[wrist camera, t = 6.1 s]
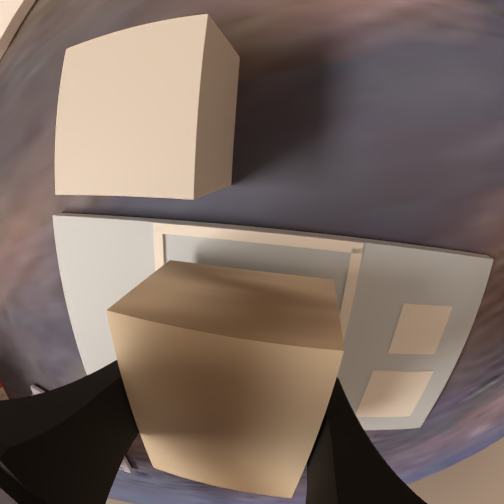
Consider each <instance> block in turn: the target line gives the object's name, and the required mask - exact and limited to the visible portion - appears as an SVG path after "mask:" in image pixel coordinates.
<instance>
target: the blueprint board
mask: <svg viewBox="0 0 504 504" xmlns="http://www.w3.org/2000/svg"><path fill="white" fill-rule="evenodd" d="M53 225H54V234H55V242H56V250H57V257H58V263H59V269H60V275H61V280H62V285H63V290H64V295H65V300H66V304H67V308H68V312H69V317H70V321H71V324H72V328H73V332H74V335H75V339H76V342H77V346H78V349H79V352H80V356H81V359H82V362H83V365H84V368H85V371H86V374H87V375H89V374H91V373H93V372H95V371H97V370H99V369H101V368H103V367H105V366H106V365H108V364H110V363H112V362H114V361H115V360H117V357H116V353H115V349H114V345H113V340H112V336H111V331H110V327H109V322H108V317H107V311H106V310H107V309H108V308H110V307H111V306H112V305H113V304H115V303H116V302H117V301H118V300H120V299H121V298H122V297H123V296H125V295H126V294H127V293H128V292H130V291H131V290H132V289H133V288H135V287H136V286H137V285H139V284H140V283H141V282H142V281H144V280H145V279H146V278H147V277H149V276H150V275H151V274H153V273H154V272H155V271H156V270H158V269H159V268H160V267H162V266H163V265H164V264H166V263H167V262H168V261H170V260H175V261H182V262H190V263H198V264H206V265H213V266H221V267H230V268H238V269H246V270H254V271H263V272H271V273H280V274H289V275H298V276H307V277H316V278H325V279H333V280H334V286H335V292H336V298H337V304H338V311H339V317H340V324H341V331H342V339H343V346H344V353H343V357H342V360H341V364H340V367H339V371H338V374H337V377H338V379H339V380H340V383H341V385H342V388H343V390H344V392H345V394H346V397H347V399H348V401H349V403H350V405H351V407H352V409H353V411H354V413H355V415H356V417H357V418H358V420H359V422H360V424H361V426H362V427H363V429H364V430H393V429H410V428H420V427H421V425H422V424H423V422H424V421H425V419H426V417H427V416H428V414H429V413H430V411H431V409H432V408H433V406H434V404H435V402H436V401H437V399H438V397H439V395H440V394H441V392H442V390H443V388H444V386H445V384H446V382H447V380H448V379H449V377H450V375H451V373H452V371H453V369H454V367H455V364H456V362H457V360H458V358H459V356H460V354H461V352H462V349H463V347H464V345H465V342H466V340H467V338H468V335H469V333H470V330H471V328H472V325H473V323H474V320H475V317H476V315H477V312H478V309H479V306H480V303H481V301H482V298H483V294H484V291H485V288H486V285H487V282H488V278H489V275H490V271H491V267H492V264H493V260H494V259H492V258H491V257H489V256H488V255H484V254H477V253H470V252H464V251H457V250H450V249H443V248H435V247H428V246H420V245H413V244H405V243H397V242H389V241H381V240H373V239H365V238H356V237H348V236H339V235H330V234H321V233H312V232H302V231H293V230H283V229H273V228H262V227H252V226H241V225H230V224H218V223H206V222H194V221H182V220H169V219H155V218H141V217H126V216H110V215H93V214H74V213H58V214H55V215H53Z"/></svg>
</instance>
